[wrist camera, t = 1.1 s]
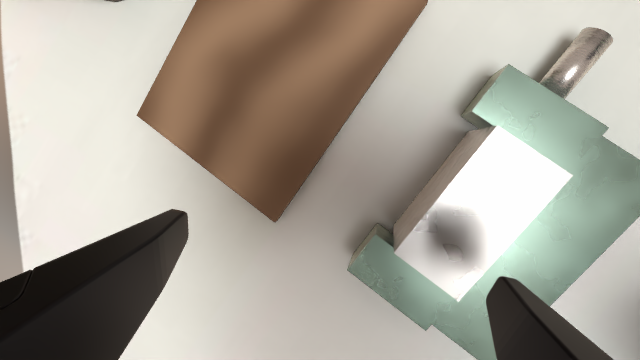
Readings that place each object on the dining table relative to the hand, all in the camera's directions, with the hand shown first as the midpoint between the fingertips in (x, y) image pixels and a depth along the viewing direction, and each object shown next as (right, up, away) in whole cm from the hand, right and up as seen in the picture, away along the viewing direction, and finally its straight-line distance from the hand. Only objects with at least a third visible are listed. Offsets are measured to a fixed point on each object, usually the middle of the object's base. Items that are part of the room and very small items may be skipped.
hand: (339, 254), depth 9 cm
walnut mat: (-4, +10, +14) cm, 18 cm away
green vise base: (+12, +1, +12) cm, 16 cm away
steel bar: (+8, +1, +12) cm, 15 cm away
